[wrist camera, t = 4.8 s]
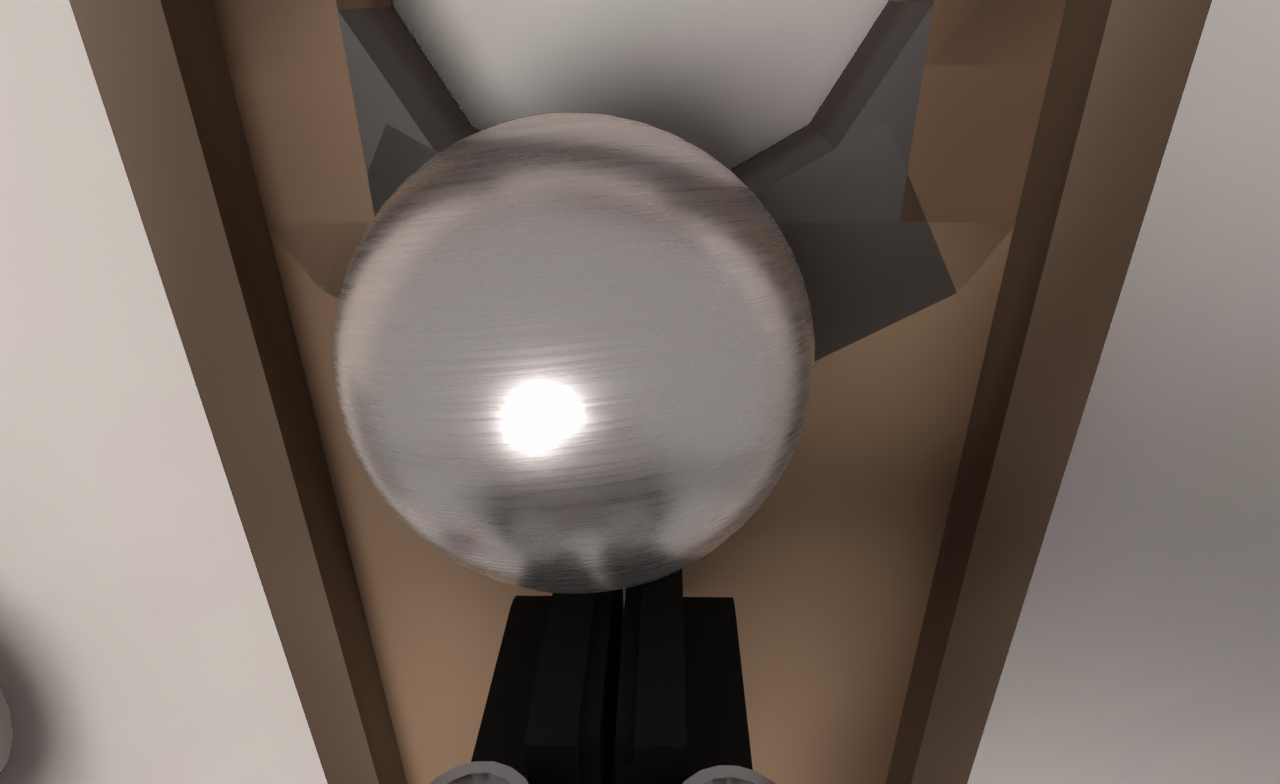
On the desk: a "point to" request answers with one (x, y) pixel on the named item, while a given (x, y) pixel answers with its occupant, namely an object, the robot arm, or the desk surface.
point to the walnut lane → (843, 358)
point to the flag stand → (5, 732)
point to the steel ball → (574, 353)
